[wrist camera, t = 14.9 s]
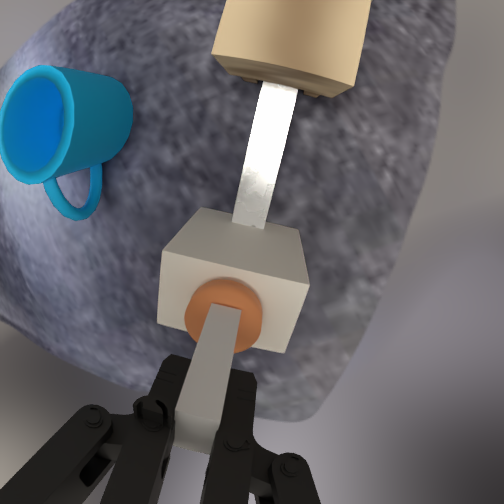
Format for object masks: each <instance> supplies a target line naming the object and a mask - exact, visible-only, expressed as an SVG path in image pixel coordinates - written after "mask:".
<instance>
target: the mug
mask: <svg viewBox="0 0 504 504" xmlns="http://www.w3.org/2000/svg"><path fill="white" fill-rule="evenodd" d="M132 123H133V105H132V102H131V98H130V95H129V93H128V91H127V90H126V89H125V87H124V86H123V84H122V83H120V82H119V81H117V80H116V79H114V78H112V77H109V76H105V75H100V74H95V73H90V72H85V71H80V70H74V69H69V68H63V67H56V66H47V65H38V66H36V67H33V68H31V69H29V70H27V71H25V72H24V73H23V74H22V75H21V76H20V77H19V78H18V79H16V81H15V82H14V83H13V85H12V86H11V88H10V90H9V91H8V93H7V94H6V97H5V99H4V102H3V105H2V107H1V110H0V154H1V158H2V160H3V162H4V164H5V166H6V168H7V170H8V172H9V173H10V174H11V175H12V176H13V177H14V178H15V179H16V180H18V181H20V182H23V183H25V184H28V185H30V184H40V183H43V185H44V188H45V191H46V193H47V195H48V197H49V198H50V200H51V202H52V204H53V206H54V207H55V208H56V209H57V210H58V211H59V212H60V213H61V214H62V215H63V216H65V217H67V218H69V219H72V220H74V221H78V220H83V219H87V218H88V217H89V216H90V215H91V214H92V213H93V212H94V211H95V210H96V207H97V205H98V203H99V200H100V196H101V190H102V163H104V162H106V161H108V160H110V159H112V158H113V157H114V156H115V155H116V154H117V153H118V152H119V151H120V150H121V149H122V147H123V146H124V144H125V142H126V140H127V139H128V137H129V134H130V130H131V127H132ZM89 167H90V189H89V195H88V198H87V200H86V203H85V205H84V206H83V207H82V208H76V207H74V206H72V205H71V204H70V203H69V202H68V201H67V199H66V198H65V197H64V195H63V193H62V191H61V190H60V188H59V186H58V183H57V180H56V178H57V177H60V176H63V175H66V174H69V173H72V172H76V171H79V170H82V169H85V168H89Z"/></svg>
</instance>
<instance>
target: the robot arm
mask: <svg viewBox="0 0 504 504" xmlns="http://www.w3.org/2000/svg"><path fill="white" fill-rule="evenodd" d="M241 311H242V310H239V309H235V308H231V307H227V306H222V305H218V304H214V303H211V306H210V309H209V312H208V314H207V317H206V320H205V323H204V326H203V329H202V332H201V334H200V337H199V340H198V343H197V346H196V349H195V352H194V355H193V358H192V359H188V358H184V357H180V356H177V355H173V354H171V355H170V356H168V357H167V358H166V359H165V360H163V362H162V365H161V367H160V369H159V372H158V374H157V376H156V379H155V381H154V383H153V385H152V387H151V390H150V392H149V394H148V396H143V397H140V398H139V399H137V400H136V401H135V402H134V404H133V410H134V413H133V414H129V415H118V414H109V412H108V411H107V410H106V409H105V408H103V407H101V406H99V405H93V404H91V405H86V406H84V407H82V408H81V409H79V410H78V411H77V412H76V413H75V414H74V415H73V416H72V417H71V418H70V419H69V420H68V421H67V422H66V423H65V424H64V425H63V426H62V427H61V428H60V429H59V430H58V432H56V433H55V434H54V435H53V436H52V437H51V438H50V439H49V440H48V441H47V442H46V443H45V444H44V445H43V446H42V447H41V449H39V450H38V451H37V453H36V454H35V455H34V456H33V457H32V458H31V459H30V460H29V461H28V462H27V463H26V464H25V465H24V466H23V467H22V468H21V469H20V470H19V471H18V472H17V473H16V474H15V475H14V476H13V477H12V478H11V479H10V480H9V481H8V482H7V483H6V484H5V485H4V486H3V487H2V489H0V504H82V503H83V502H84V501H85V500H86V498H87V497H88V496H89V495H90V493H91V492H92V491H93V490H94V489H95V487H96V486H97V485H98V483H99V482H100V481H101V480H102V479H103V477H104V476H105V475H106V474H107V472H108V471H109V470H110V468H111V467H112V466H113V465H114V464H115V466H114V468H113V471H112V473H111V476H110V479H109V481H108V484H107V486H106V489H105V491H104V494H103V497H102V499H101V502H100V504H157V503H158V499H159V495H160V492H161V488H162V485H163V481H164V478H165V474H166V471H167V467H168V464H169V460H170V452H171V449H172V445H173V446H176V447H180V448H184V449H188V450H192V451H196V452H200V453H205V454H209V455H210V458H209V463H208V467H207V469H206V475H205V480H204V485H203V490H202V495H201V500H200V504H248V499H249V492H250V493H252V494H254V495H255V500H256V504H321V503H320V500H319V497H318V493H317V490H316V487H315V484H314V481H313V478H312V474H311V471H310V468H309V465H308V464H307V462H306V460H305V459H304V458H303V457H301V456H300V455H297V454H295V453H283V454H280V455H277V454H275V453H273V452H271V451H268V450H266V449H264V448H263V447H261V446H260V445H259V444H258V443H257V442H256V441H255V439H254V436H253V422H254V411H255V400H256V389H257V381H256V379H255V377H254V374H253V373H250V372H245V371H241V370H236V369H231V364H232V358H233V353H234V348H235V342H236V337H237V332H238V327H239V321H240V316H241ZM115 462H116V463H115Z"/></svg>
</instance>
